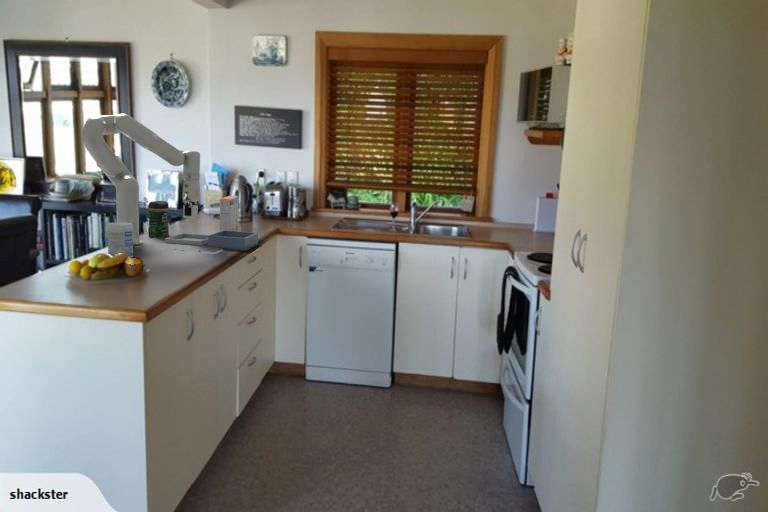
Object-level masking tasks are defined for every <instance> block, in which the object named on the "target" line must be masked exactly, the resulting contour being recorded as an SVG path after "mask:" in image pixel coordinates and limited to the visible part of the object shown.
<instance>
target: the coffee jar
mask: <svg viewBox="0 0 768 512" xmlns="http://www.w3.org/2000/svg"><path fill="white" fill-rule="evenodd" d="M169 209H170V208H169V202H168V201H167V200H155V201H154V200H153V201H150V202H149V203H148V212H149V217H148V218H149V221H148V234H147V235H148V238H150V239H154V238H155V239H159V238H165V237H166V238H167V237H170V232H169V219H168V217H169V216H168V215H169V211H170V210H169Z"/></svg>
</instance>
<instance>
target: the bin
mask: <svg viewBox="0 0 768 512" xmlns="http://www.w3.org/2000/svg"><path fill="white" fill-rule="evenodd" d="M207 235H208V243H207V244H208V247H215V248H221V250H226V251H227V250H229V251H239V252H246V251H248V250H251V249H253V248H255V247H257V246H258V245H259V233H258V232H253V231H252V232H250V231H239V230H238V231H228V230H222V231H220V230H219V231H217V232H214V233H212V234H207Z"/></svg>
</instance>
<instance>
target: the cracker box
mask: <svg viewBox="0 0 768 512" xmlns="http://www.w3.org/2000/svg"><path fill="white" fill-rule="evenodd" d="M222 230H228V231H239V196H233V195H228V196H225V197H221V198H219V231H222Z"/></svg>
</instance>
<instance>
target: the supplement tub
mask: <svg viewBox="0 0 768 512" xmlns="http://www.w3.org/2000/svg"><path fill="white" fill-rule="evenodd" d="M133 245H134V244H133V228H132V223H126V222H117V221H116V222H114V221H113V222H109V223H107V253H108V254H118V253H125V254H127V255H128V256H129V257H134V246H133Z"/></svg>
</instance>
